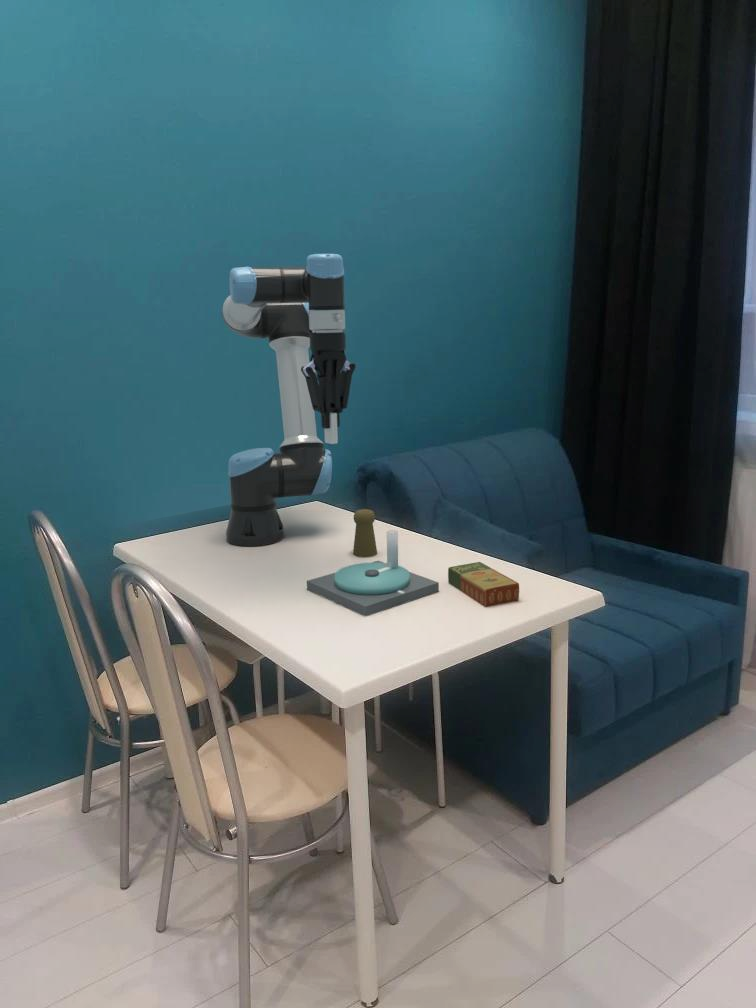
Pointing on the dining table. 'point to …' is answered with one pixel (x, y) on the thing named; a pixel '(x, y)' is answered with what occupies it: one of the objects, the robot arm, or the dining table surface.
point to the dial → (375, 573)
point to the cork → (364, 534)
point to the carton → (483, 584)
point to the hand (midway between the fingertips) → (331, 442)
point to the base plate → (372, 602)
